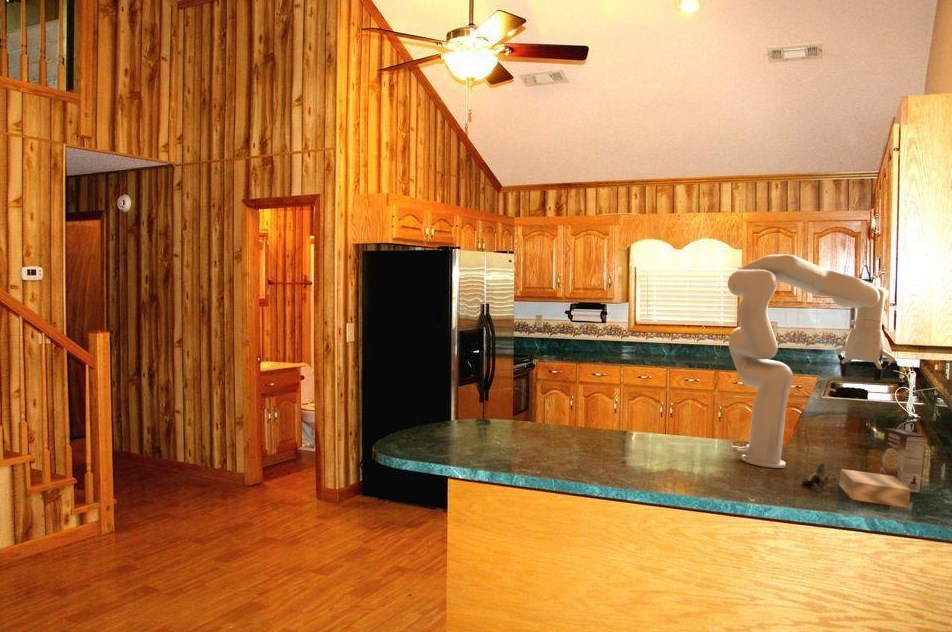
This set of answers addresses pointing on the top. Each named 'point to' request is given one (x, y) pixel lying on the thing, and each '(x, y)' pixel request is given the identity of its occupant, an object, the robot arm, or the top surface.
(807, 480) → the eagle figurine
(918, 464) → the coffee box
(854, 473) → the maple block
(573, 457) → the top surface
